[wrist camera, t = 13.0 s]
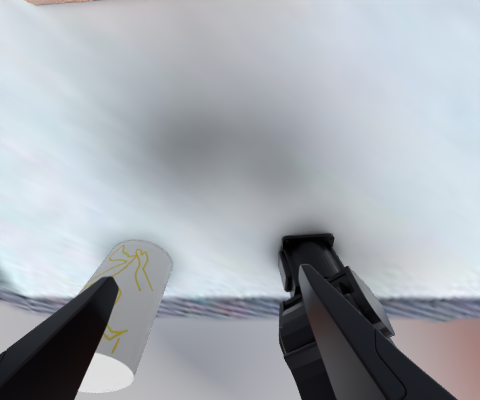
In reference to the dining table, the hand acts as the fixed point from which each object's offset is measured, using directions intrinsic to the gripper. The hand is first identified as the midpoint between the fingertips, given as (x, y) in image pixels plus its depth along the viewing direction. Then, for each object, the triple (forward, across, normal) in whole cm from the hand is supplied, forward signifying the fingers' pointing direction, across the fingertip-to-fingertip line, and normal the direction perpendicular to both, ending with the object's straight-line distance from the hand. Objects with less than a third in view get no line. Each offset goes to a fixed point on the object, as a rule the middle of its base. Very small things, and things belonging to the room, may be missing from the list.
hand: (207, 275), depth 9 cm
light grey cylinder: (+13, +12, +12) cm, 22 cm away
